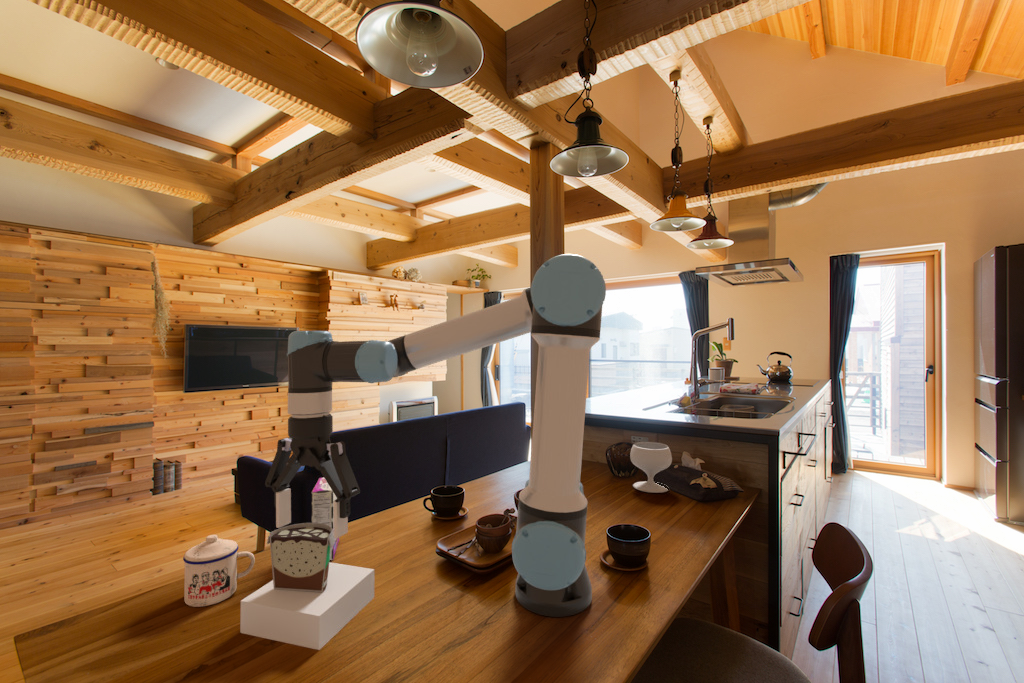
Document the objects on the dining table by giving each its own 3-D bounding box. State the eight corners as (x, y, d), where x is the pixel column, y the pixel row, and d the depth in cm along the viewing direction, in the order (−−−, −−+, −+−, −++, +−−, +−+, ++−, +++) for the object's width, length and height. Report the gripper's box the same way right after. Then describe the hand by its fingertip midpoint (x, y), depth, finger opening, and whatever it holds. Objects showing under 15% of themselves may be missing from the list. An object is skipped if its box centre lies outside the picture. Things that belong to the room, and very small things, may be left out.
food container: (347, 575, 87) (347, 522, 87) (330, 592, 80) (331, 535, 81) (286, 572, 88) (287, 520, 88) (266, 588, 82) (266, 532, 82)
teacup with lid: (179, 613, 83) (180, 550, 84) (186, 590, 91) (186, 532, 91) (254, 596, 89) (255, 537, 89) (254, 575, 97) (254, 521, 97)
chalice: (680, 492, 154) (680, 448, 154) (644, 496, 150) (644, 451, 150) (656, 480, 167) (656, 440, 167) (622, 483, 163) (622, 442, 163)
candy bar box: (318, 542, 114) (318, 477, 114) (339, 540, 115) (340, 475, 115) (310, 563, 103) (310, 491, 103) (333, 561, 104) (334, 489, 104)
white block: (374, 599, 89) (374, 569, 89) (319, 653, 74) (319, 616, 74) (305, 587, 94) (306, 558, 94) (240, 635, 78) (240, 600, 78)
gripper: (379, 414, 83) (380, 531, 82) (277, 408, 92) (277, 514, 91) (350, 421, 76) (351, 548, 75) (243, 414, 85) (244, 528, 84)
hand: (311, 530), depth 83 cm, fingers open, 13 cm apart
